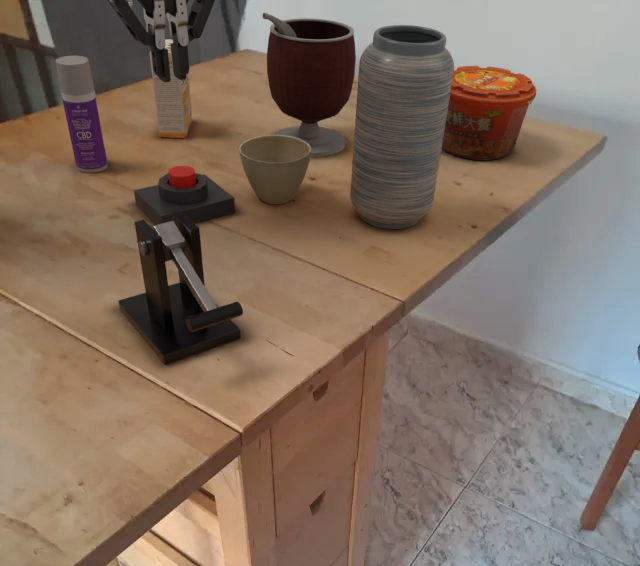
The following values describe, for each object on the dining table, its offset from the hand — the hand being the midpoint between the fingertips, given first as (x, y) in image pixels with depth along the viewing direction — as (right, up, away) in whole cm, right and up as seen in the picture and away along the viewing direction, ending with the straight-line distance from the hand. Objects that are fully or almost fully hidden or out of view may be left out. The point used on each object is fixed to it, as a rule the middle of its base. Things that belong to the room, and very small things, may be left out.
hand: (172, 78), depth 85 cm
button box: (-1, -12, +12) cm, 17 cm away
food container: (+45, +5, +33) cm, 56 cm away
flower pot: (+12, -10, +16) cm, 22 cm away
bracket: (+3, -32, -9) cm, 33 cm away
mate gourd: (+16, +5, +31) cm, 35 cm away
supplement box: (-6, +8, +33) cm, 35 cm away
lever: (+5, -29, -16) cm, 33 cm away
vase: (+28, -13, +13) cm, 34 cm away
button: (0, -10, +9) cm, 13 cm away
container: (-17, -3, +21) cm, 27 cm away
